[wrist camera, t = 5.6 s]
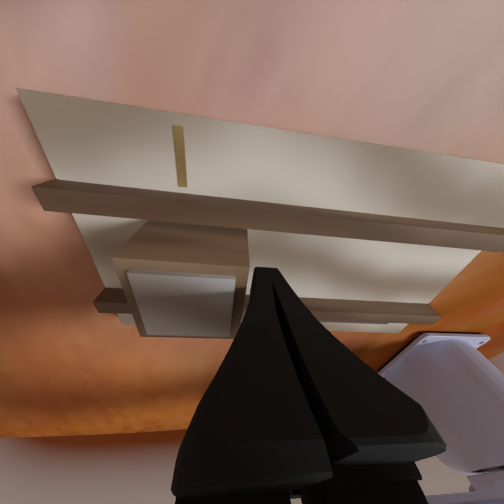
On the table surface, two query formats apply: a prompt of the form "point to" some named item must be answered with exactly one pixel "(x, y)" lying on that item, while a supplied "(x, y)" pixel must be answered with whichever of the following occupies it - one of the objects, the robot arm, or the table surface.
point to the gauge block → (185, 279)
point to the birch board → (273, 204)
